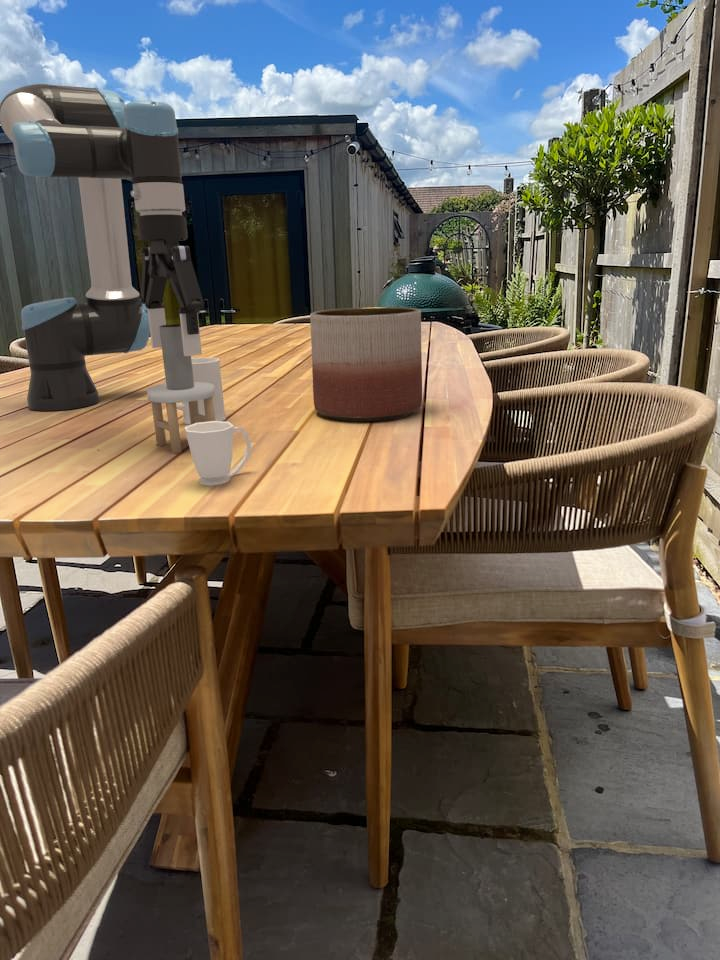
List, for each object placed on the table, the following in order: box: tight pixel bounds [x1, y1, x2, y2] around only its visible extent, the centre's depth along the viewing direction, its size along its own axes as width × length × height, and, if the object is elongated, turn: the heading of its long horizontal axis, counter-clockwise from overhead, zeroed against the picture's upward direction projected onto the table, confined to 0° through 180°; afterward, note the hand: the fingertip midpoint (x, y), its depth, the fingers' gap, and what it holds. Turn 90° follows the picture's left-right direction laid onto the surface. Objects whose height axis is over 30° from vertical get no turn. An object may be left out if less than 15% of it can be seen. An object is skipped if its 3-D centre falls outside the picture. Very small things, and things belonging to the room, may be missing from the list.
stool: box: [146, 382, 215, 454], centre depth 116 cm, size 11×11×10 cm
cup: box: [183, 421, 252, 487], centre depth 98 cm, size 7×10×8 cm
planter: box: [309, 306, 423, 422], centre depth 136 cm, size 22×22×20 cm
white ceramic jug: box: [163, 356, 227, 426], centre depth 133 cm, size 12×8×12 cm
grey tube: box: [159, 323, 194, 390], centre depth 113 cm, size 4×4×10 cm
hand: (175, 351), depth 113 cm, fingers open, 13 cm apart
